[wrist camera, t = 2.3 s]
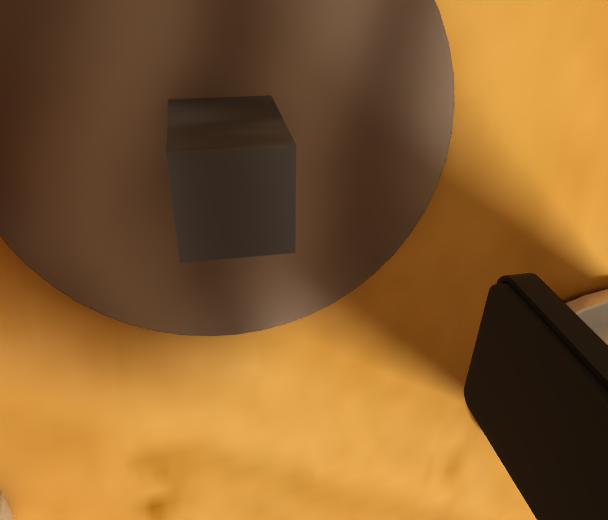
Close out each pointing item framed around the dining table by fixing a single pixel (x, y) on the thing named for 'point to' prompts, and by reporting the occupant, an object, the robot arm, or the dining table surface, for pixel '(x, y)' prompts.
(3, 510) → the food model
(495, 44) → the dining table surface
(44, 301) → the dining table surface
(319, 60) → the lid
